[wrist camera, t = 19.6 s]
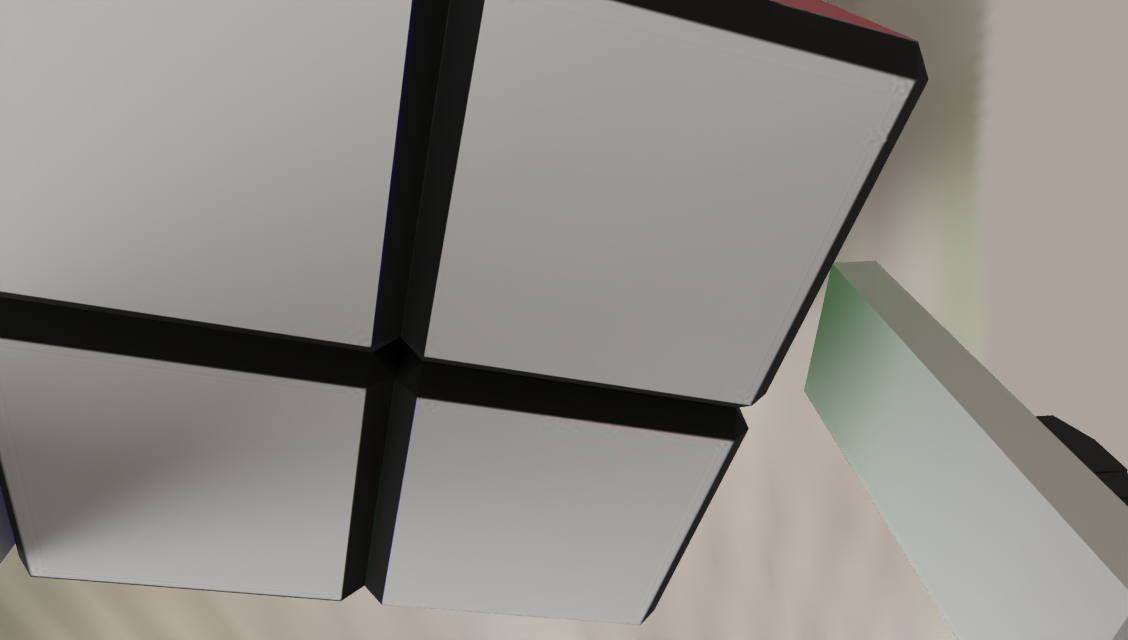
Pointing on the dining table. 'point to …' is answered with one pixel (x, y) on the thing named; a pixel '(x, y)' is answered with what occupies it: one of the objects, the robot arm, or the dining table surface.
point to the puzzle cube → (412, 282)
